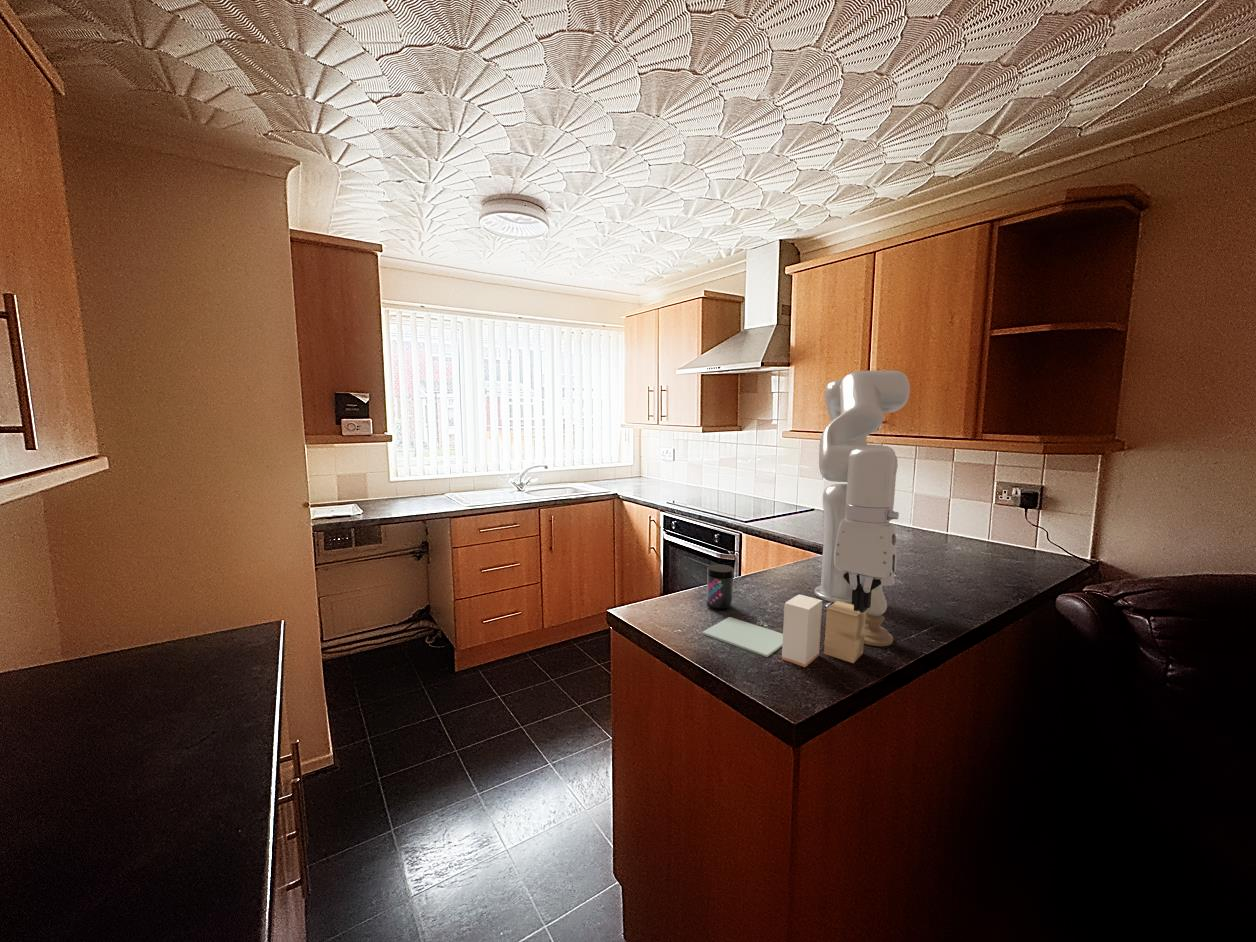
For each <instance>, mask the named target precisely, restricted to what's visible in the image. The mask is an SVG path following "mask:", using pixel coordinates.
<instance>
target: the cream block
mask: <svg viewBox="0 0 1256 942" xmlns="http://www.w3.org/2000/svg"><path fill="white" fill-rule="evenodd" d="M822 609H823V599H819V598H815V597H812V596H811V597H810V596H807V595H804V594H800V593H799V594H797V595H795V596H794V597H792V598H791V599H789V600H787V601H785V603H784V606H783V610H784V611H783V625H782V626H783V629H782V634H783V643H782V646H781V648H782V649H781V660H783V661H786V662H789V663H792V664H795V665H797V666H800V667H803V668H806V667H808V666H809V664H811V663H812V662H813V661H814V660H816V658H818V657H819V656H820V646H821V643H820V642H821V641H820V640H821V626H822V613H823V612H822V611H823V610H822Z"/></svg>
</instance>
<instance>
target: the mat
mask: <svg viewBox="0 0 1256 942" xmlns="http://www.w3.org/2000/svg"><path fill="white" fill-rule="evenodd" d="M701 634H702V635H704V636H707V637H709V638H712V639H715V640H718V641H721V642H723V643H726V644H729V645H732V646H734V647H738V648H740V649H743V650H745V651H749V652H751V653H754V654H757V655H760V656H762V657H765V658H768V657H769V656H771V655H772V654H773V653H775V652H776V651H777V650H779V649H780V648H782V643H783V632H782V633H781V632H778V631H776V630H772V629H769V628H767V627H763V626H760V625H756V624H753V623H750V622H746V621H745V620H741V619H738V618H735V617H731V616H728V617H727V618H724V619H723V620H721V621H719V622H718V623H715V624H714V625H712V626H710V627H708V628H707V629H705V630H703V631H702V632H701Z"/></svg>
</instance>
